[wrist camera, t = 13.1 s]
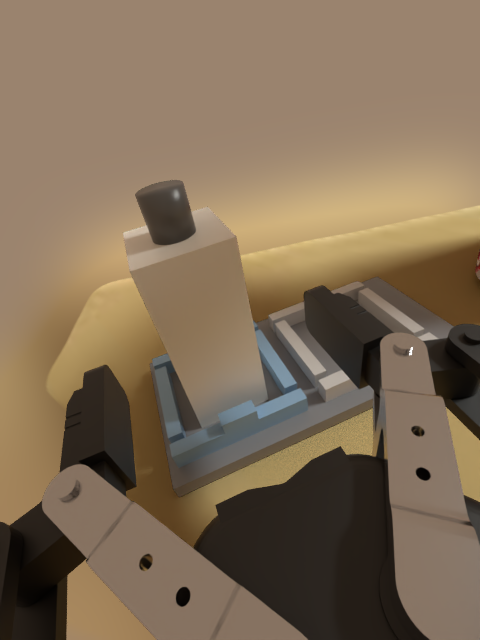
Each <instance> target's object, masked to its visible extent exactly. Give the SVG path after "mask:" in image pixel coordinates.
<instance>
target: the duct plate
mask: <svg viewBox="0 0 480 640" xmlns="http://www.w3.org/2000/svg"><path fill="white" fill-rule="evenodd" d="M331 292H332V293H333V294H335V293H341V294H344V295H346V296H349V297H351V298H352V299H353V300H355V301H356V302H357V303H358V304H359V305H360V306H362V307H363V308H365V309H366V311H367V312H370V313H371V314H372V315H373V316H374V317H376V318H377V319H378V320H379V321H381V322H382V323H383V324H384V325H386V326H387V327H388V328H389V329H390V330H392V331H393V332H394V333H408V334H411V335H414V336H416V337H418V338H419V339H421V340H422V341H426V340H434V339H442V338H447V337H448V334H449V331H450V330H451V328H453V327H454V326H452V325H451V324H449V323H448V322H446V321H445V320H443V319H442V318H440V317H439V316H437V315H435V314H434V313H432V312H431V311H429V310H428V309H426V308H425V307H423V306H422V305H420V304H419V303H417V302H416V301H414V300H413V299H411V298H410V297H408V296H406V295H405V294H403V293H402V292H400V291H399V290H397V289H396V288H394V287H393V286H391V285H390V284H388V283H387V282H385V281H384V280H382V279H380V278H379V277H375V278H372V279H370V280H367V281H364V282H362V283H360V282H359V281H356V282H353V283H351V284H348V285H345V286H343V287H340V288H337V289H335V290H332V291H331ZM268 317H269V318H268V319H265V320H263V321H260V322H257V323H255V321H253V324H254V329H255V334H256V339H257V344H258V349H259V354H260V359H261V364H262V369H263V375H264V380H265V385H266V390H267V395H268V400H266V401H264V402H262V403H259V404H257V405H255V406H254V404H253V402H252V400H249V401H247V402H245V403H242V404H240V405H238V406H235V407H233V408H231V409H228V410H226V411H224V412H221V413H219V414H218V417H219V419H220V421H217V422H215V423H213V424H210V425H208V426H206V427H203V428H202V427H201V425H200V423H199V420H198V418H197V416H196V414H195V412H194V410H193V407H192V405H191V403H190V401H189V399H188V397H187V394H186V392H185V390H184V388H183V386H182V384H181V381H180V379H179V377H178V375H177V373H176V371H175V369H174V366H173V364H172V362H171V360H170V358H169V356H168V353H167V354H164V355H162V356H159V357H157V358H154V359H152V361H153V363H150V369H151V374H152V379H153V385H154V390H155V395H156V401H157V406H158V411H159V416H160V422H161V427H162V432H163V438H164V443H165V448H166V454H167V459H168V464H169V469H170V475H171V480H172V485H173V490H174V491H175V493H176V494H177V495H178V497H181V496H183V495H185V494H187V493H189V492H191V491H194V490H196V489H198V488H200V487H202V486H204V485H207V484H209V483H211V482H213V481H215V480H217V479H220V478H222V477H224V476H226V475H228V474H230V473H232V472H235V471H237V470H239V469H241V468H243V467H245V466H248V465H250V464H252V463H254V462H256V461H258V460H261V459H263V458H265V457H267V456H269V455H271V454H274V453H276V452H278V451H280V450H282V449H284V448H286V447H289V446H291V445H293V444H295V443H297V442H299V441H302V440H304V439H306V438H308V437H310V436H312V435H315V434H317V433H319V432H321V431H323V430H325V429H328V428H330V427H332V426H334V425H336V424H338V423H340V422H343V421H345V420H347V419H349V418H351V417H353V416H356V415H358V414H360V413H362V412H364V411H366V410H369V409H371V408H373V389H372V388H371V387H370V386H369V385H368V386H366V387H364V388H362V389H358V388H357V387H356V385H355V384H354V383H353V382H352V381H351V380H350V379H349V377H348V376H347V375H346V374H345V373H344V372H343V371H342V369H341V368H340V367H339V366H338V365H337V364H336V363H335V361H334V360H333V359H332V358H331V357H330V356H329V355H328V353H327V352H326V351H325V350H324V349H323V348H322V347H321V345H320V344H319V343H318V342H317V341H316V340H315V339H314V337H313V336H312V335H311V334H310V332H309V331H308V329H307V326H306V322H305V309H304V301H303V302H301V303H298V304H295V305H293V306H290V307H288V308H285V309H282V310H280V311H277V312H275V313H272V314H269V315H268Z"/></svg>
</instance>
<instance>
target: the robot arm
mask: <svg viewBox="0 0 480 640" xmlns="http://www.w3.org/2000/svg"><path fill="white" fill-rule="evenodd" d="M304 309H305V322H306V326H307V329H308V331H309V332H310V334H311V335H312V336H313V337H314V339H315V340H316V341H317V342H318V343H319V344H320V345H321V347H322V348H323V349H324V350H325V351H326V352H327V353H328V355H329V356H330V357H331V358H332V359H333V360H334V361H335V363H336V364H337V365H338V366H339V367H340V368H341V369H342V371H343V372H344V373H345V374H346V375H347V376H348V377H349V379H350V380H351V381H352V382H353V383H354V384H355V385H356V387H357V388H358V389H362V388H364V387H366V386H368V385H369V386H370V387H371V388H372V389H373V451H372V456H370V455H362V454H350V455H346V454H345V452H344V451H343V449H342V448H341V446H340V447H338V448H336V449H334V450H332V451H330V452H327V453H325V454H323V455H321V456H319V457H317V458H315V459H313V460H311V461H310V462H309V463H307V464H306V465H305V466H304V467H303V468H302V469H301V470H299V471H298V472H297V473H296V474H295V475H294V476H293V477H291V478H290V479H289V480H288V481H287V482H285V483H283V484H279V485H273V486H268V487H262V488H256V489H250V490H247V491H244V492H242V493H240V494H238V495H236V496H234V497H232V498H229V499H227V500H225V501H223V502H221V503H219V504H217V505H216V509H217V512H218V516H217V517H216V518H214V519H213V520H212V521H211V522H210V524H209V525H208V526H207V527H206V528H205V529H204V531H203V532H202V534H201V535H200V537H199V538H198V540H197V542H196V543H195V545H194V548H192V547H191V546H190V545H188V544H187V543H186V542H184V541H183V540H182V539H181V538H179V537H178V536H177V535H176V534H174V533H173V532H172V531H171V530H169V529H168V528H167V527H166V526H164V525H163V524H162V523H161V522H159V521H158V520H157V519H156V518H154V517H153V516H152V515H151V514H149V513H148V512H147V511H146V510H144V509H143V508H142V507H141V506H139V505H138V504H137V503H135V502H134V501H131V500H129V499H128V498H127V497H126V491H127V490H130V489H132V488H134V487H136V475H135V464H134V453H133V442H132V431H131V420H130V409H129V402H128V399H127V396H126V393H125V391H124V390H123V388H122V387H121V385H120V383H119V382H118V380H117V379H116V377H115V376H114V374H113V373H112V371H111V370H110V368H109V367H108V366H107V365H103V366H100V367H98V368H95V369H92V370H90V371H87V372H85V373H84V378H83V388H82V389H79V390H77V391H74V393H73V395H72V397H71V399H70V400H69V402H68V404H67V411H66V421H65V431H64V439H63V448H62V457H61V465H60V473H59V474H58V475H57V476H56V477H55V478H54V479H53V480H52V481H51V483H50V484H49V485H48V487H47V488H46V490H45V493H44V495H43V499H42V501H41V502H40V503H39V504H38V505H37V506H35V507H34V508H33V509H31V510H30V511H29V512H27V513H26V514H25V515H23V516H22V517H21V518H19V519H18V520H16V521H15V522H14V523H13V524H11V525H10V526H9V525H7V524H5V523H3V522H0V640H66V624H67V623H66V622H67V620H66V619H67V575H68V574H69V573H70V572H71V571H73V570H74V569H75V568H76V567H77V566H78V565H80V564H81V563H82V562H83V561H84V560H85V559H87V560H86V562H87V564H88V565H89V567H90V568H91V569H92V570H93V571H94V572H95V573H96V575H97V576H98V577H99V578H100V579H101V580H102V581H103V582H104V583H105V584H106V585H107V586H108V587H109V588H110V590H111V591H112V592H113V593H114V594H115V595H116V596H117V597H118V598H119V599H120V600H121V601H122V603H123V604H124V605H125V606H126V607H127V608H128V609H129V610H130V611H131V612H132V613H133V614H134V616H135V617H136V618H137V619H138V620H139V621H140V622H141V623H142V624H143V625H144V626H145V627H146V629H147V630H148V631H149V632H150V633H151V634H152V635H153V636H154V637H155V638H156V639H157V640H480V502H478V501H476V500H474V499H472V498H469V497H467V496H465V495H463V490H462V485H461V481H460V476H459V471H458V466H457V461H456V456H455V451H454V447H453V442H452V437H451V432H450V427H449V422H448V417H447V413H446V408H445V406H446V407H447V408H448V409H449V410H450V411H451V412H452V413H453V414H454V415H455V416H456V417H457V418H458V419H459V420H460V421H461V422H462V423H463V424H464V425H465V426H466V427H467V428H468V429H469V430H470V431H471V432H472V433H473V434H474V435H475V436H476V437H477V438H478V439H479V440H480V326H479V325H474V324H461V325H457V326H454V327H453V328H451V330H450V331H449V334H448V337H447V338H442V339H434V340H426V341H422V340H421V339H419V338H418V337H416V336H414V335H411V334H408V333H394V332H393V331H392V330H390V329H389V328H388V327H387V326H386V325H384V324H383V323H382V322H381V321H379V320H378V319H377V318H376V317H374V316H373V315H372V314H371V313H370V312H367V311H366V309H365V308H363V307H362V306H360V305H359V304H358V303H357V302H356V301H355V300H353V299H352V298H351V297H349V296H346V295H344V294H341V293H335V294H333V293H332V292H331V291H330V290H328V289H327V288H326V287H325V286H323V285H321V286H319V287H316V288H313V289H310V290H308V291H305V292H304Z"/></svg>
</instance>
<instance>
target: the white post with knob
mask: <svg viewBox="0 0 480 640" xmlns="http://www.w3.org/2000/svg"><path fill="white" fill-rule="evenodd" d="M135 196H136V199H137V202H138V204H139V207H140V209H141V212H142V214H143V217H144V220H145V222H146V225H147V226H143V227H140V228H137V229H133V230H130V231H127V232H124V233H123V235H124V241H125V246H126V253H127V259H128V264H129V270H130V273H131V275H132V278H133V280H134V282H135V284H136V286H137V288H138V291H139V293H140V295H141V297H142V299H143V301H144V304H145V306H146V308H147V310H148V312H149V314H150V317H151V319H152V321H153V323H154V325H155V327H156V330H157V332H158V334H159V336H160V338H161V340H162V343H163V345H164V347H165V349H166V351H167V353H168V356H169V358H170V360H171V362H172V364H173V366H174V369H175V371H176V373H177V375H178V377H179V379H180V381H181V384H182V386H183V388H184V390H185V392H186V394H187V397H188V399H189V401H190V403H191V405H192V407H193V410H194V412H195V414H196V416H197V418H198V420H199V423H200V425H201V427H202V428H203V427H206V426H208V425H210V424H213V423H215V422H217V421H220V419H219V417H218V414H219V413H221V412H224V411H226V410H228V409H231V408H233V407H235V406H238V405H240V404H242V403H245V402H247V401H249V400H252V402H253V404H254V406H255V405H257V404H259V403H262V402H264V401H266V400H268V395H267V390H266V385H265V380H264V375H263V369H262V364H261V359H260V354H259V349H258V344H257V339H256V334H255V329H254V324H253V319H252V314H251V309H250V303H249V298H248V293H247V288H246V283H245V278H244V273H243V268H242V263H241V258H240V253H239V248H238V243H237V238H236V236H235V235H234V234H233V233H232V232H231V230H229V228H228V227H227V226H226V225H224V223H223V222H222V221H221V220H220V219H219V218H218V217H217V216H216V215H215V214H214V213H213V212H212V211H211V210H210V209H209V208H208V207H205V208H202V209H199V210H196V211H192V212H191V209H190V206H189V202H188V198H187V195H186V192H185V188H184V184H183V182H182V181H179V180H172V181H171V180H170V181H164V182H159V183H155V184H152V185H149V186H147V187H145V188H142V189H141V190H139V191H138V192H137V193H136V194H135Z"/></svg>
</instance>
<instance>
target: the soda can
mask: <svg viewBox="0 0 480 640" xmlns="http://www.w3.org/2000/svg"><path fill="white" fill-rule="evenodd" d="M475 272H476V275H477V277H478V279H479V280H480V250H479V254H478V259H477V264H476V269H475Z"/></svg>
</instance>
